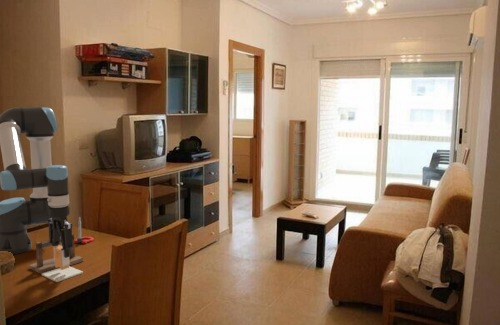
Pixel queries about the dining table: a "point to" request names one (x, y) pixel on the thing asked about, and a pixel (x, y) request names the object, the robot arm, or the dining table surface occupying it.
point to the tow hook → (80, 239)
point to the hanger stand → (49, 264)
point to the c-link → (59, 258)
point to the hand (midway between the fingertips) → (61, 263)
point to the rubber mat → (62, 274)
